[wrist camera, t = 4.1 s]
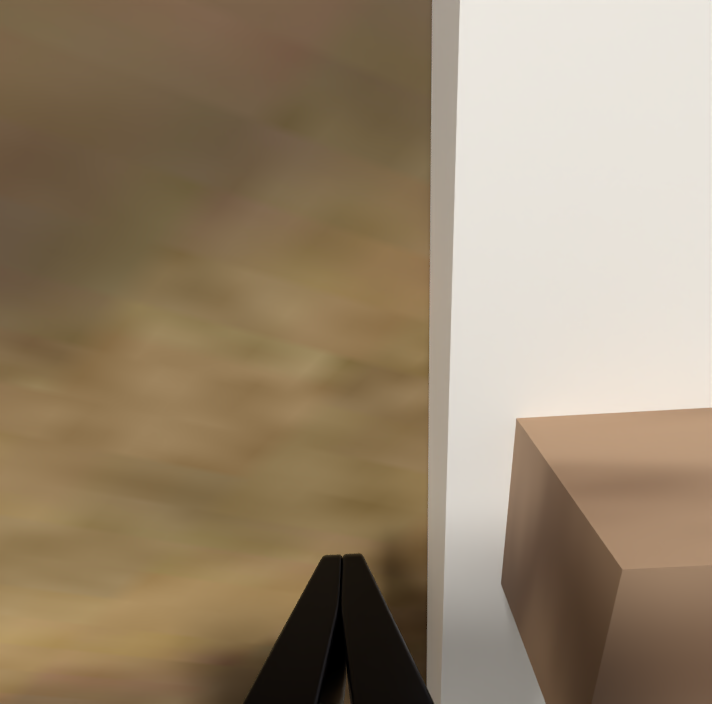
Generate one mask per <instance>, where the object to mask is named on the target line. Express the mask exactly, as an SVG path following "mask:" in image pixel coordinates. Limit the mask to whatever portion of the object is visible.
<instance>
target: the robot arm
mask: <svg viewBox="0 0 712 704" xmlns="http://www.w3.org/2000/svg"><path fill="white" fill-rule="evenodd" d="M346 667H347V677H348V687H349V696H350V704H434V702H433V699H432V697H431V695H430V693H429V691H428V689H427V687H426V685H425V683H424V681H423V679H422V677H421V675H420V673H419V670H418V668H417V666H416V664H415V662H414V660H413V658H412V656H411V654H410V652H409V650H408V648H407V646H406V644H405V641H404V639H403V637H402V635H401V633H400V631H399V629H398V627H397V625H396V623H395V621H394V619H393V617H392V615H391V613H390V610H389V608H388V606H387V604H386V602H385V600H384V598H383V596H382V594H381V592H380V590H379V588H378V586H377V584H376V581H375V579H374V577H373V575H372V573H371V571H370V569H369V567H368V565H367V563H366V561H365V559H364V557H363V555H362V554H345V555H344V556H343V558H342V556H341V555H325V556H323V557H322V559H321V560H320V562H319V564H318V566H317V567H316V569H315V571H314V573H313V575H312V577H311V578H310V580H309V582H308V584H307V586H306V588H305V589H304V591H303V593H302V595H301V597H300V599H299V600H298V602H297V604H296V606H295V608H294V610H293V611H292V613H291V615H290V617H289V619H288V621H287V622H286V624H285V626H284V628H283V630H282V632H281V633H280V635H279V637H278V639H277V641H276V643H275V644H274V646H273V648H272V650H271V652H270V654H269V655H268V657H267V659H266V661H265V663H264V665H263V666H262V668H261V670H260V672H259V674H258V676H257V677H256V679H255V681H254V683H253V685H252V687H251V688H250V690H249V692H248V694H247V696H246V698H245V699H244V701H243V703H242V704H344V696H345V684H346Z"/></svg>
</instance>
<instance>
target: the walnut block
mask: <svg viewBox="0 0 712 704" xmlns="http://www.w3.org/2000/svg"><path fill="white" fill-rule="evenodd" d="M501 585H502V588H503V591H504V593H505V596H506V599H507V602H508V604H509V607H510V610H511V612H512V615H513V618H514V620H515V623H516V626H517V628H518V631H519V634H520V636H521V639H522V642H523V644H524V647H525V650H526V652H527V655H528V658H529V660H530V663H531V666H532V668H533V671H534V674H535V676H536V679H537V682H538V684H539V687H540V690H541V692H542V695H543V698H544V700H545V703H546V704H712V408H694V409H676V410H658V411H639V412H621V413H603V414H585V415H566V416H548V417H530V418H516V427H515V438H514V449H513V459H512V470H511V481H510V491H509V502H508V513H507V523H506V534H505V545H504V555H503V566H502V577H501Z"/></svg>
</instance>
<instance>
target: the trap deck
mask: <svg viewBox="0 0 712 704" xmlns="http://www.w3.org/2000/svg"><path fill="white" fill-rule="evenodd" d="M694 408H712V0H432V85H431V207H430V329H429V452H428V574H427V689H428V691H429V693H430V695H431V697H432V699H433V702H434V704H546V703H545V700H544V698H543V695H542V692H541V690H540V687H539V684H538V682H537V679H536V676H535V674H534V671H533V668H532V666H531V663H530V660H529V658H528V655H527V652H526V650H525V647H524V644H523V642H522V639H521V636H520V634H519V631H518V628H517V626H516V623H515V620H514V618H513V615H512V612H511V610H510V607H509V604H508V602H507V599H506V596H505V593H504V591H503V588H502V585H501V577H502V566H503V555H504V545H505V534H506V523H507V513H508V502H509V491H510V481H511V470H512V459H513V449H514V438H515V427H516V418H530V417H548V416H566V415H585V414H603V413H621V412H639V411H658V410H676V409H694Z"/></svg>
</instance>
